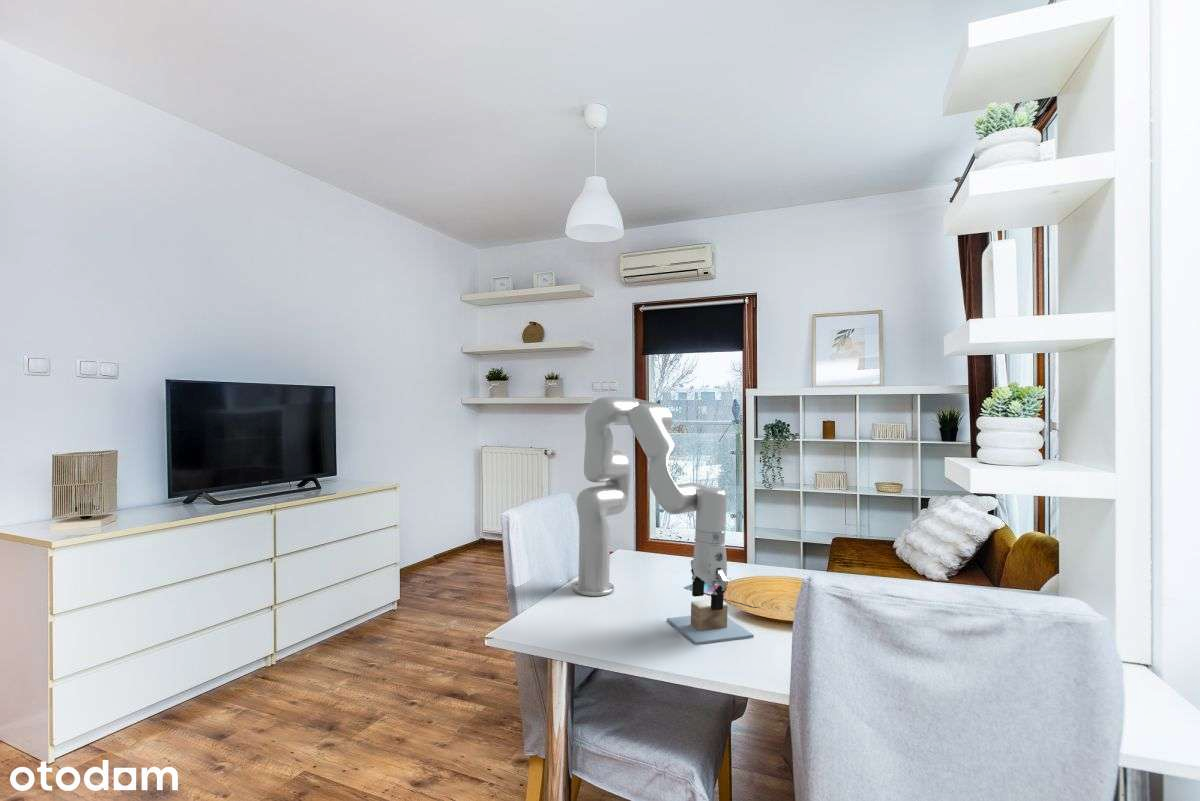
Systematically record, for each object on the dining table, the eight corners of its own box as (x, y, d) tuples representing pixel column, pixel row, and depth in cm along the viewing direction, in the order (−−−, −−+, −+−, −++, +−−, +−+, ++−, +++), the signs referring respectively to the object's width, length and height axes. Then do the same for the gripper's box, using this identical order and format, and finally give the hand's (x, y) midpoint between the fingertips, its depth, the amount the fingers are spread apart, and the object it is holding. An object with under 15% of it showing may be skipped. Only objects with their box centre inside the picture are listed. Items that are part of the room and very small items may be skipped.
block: (699, 631, 145) (699, 607, 145) (690, 624, 149) (691, 601, 149) (727, 627, 147) (727, 604, 147) (717, 621, 152) (718, 598, 152)
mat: (667, 620, 153) (667, 618, 153) (720, 614, 158) (720, 612, 158) (696, 644, 138) (696, 642, 138) (753, 637, 143) (753, 634, 143)
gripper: (741, 544, 141) (738, 614, 142) (706, 527, 158) (703, 590, 158) (714, 546, 139) (711, 616, 139) (681, 528, 155) (678, 592, 156)
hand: (707, 602), depth 149 cm, fingers open, 9 cm apart
